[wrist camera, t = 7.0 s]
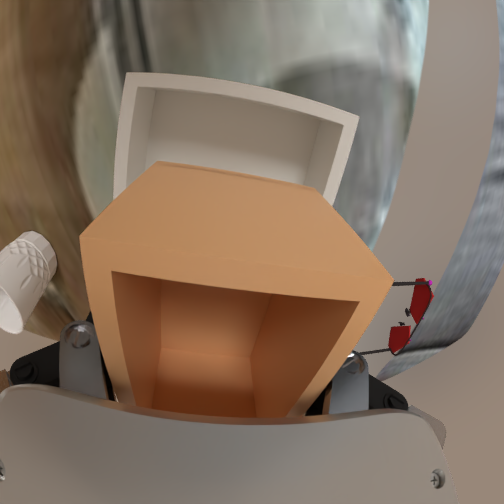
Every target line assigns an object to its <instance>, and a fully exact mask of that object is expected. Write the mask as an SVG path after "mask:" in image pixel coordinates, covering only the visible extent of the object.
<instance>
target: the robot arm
mask: <svg viewBox="0 0 504 504" xmlns="http://www.w3.org/2000/svg"><path fill="white" fill-rule="evenodd" d="M445 437H446V429H445V426H444V424H443V423H442V422H441V421H439V420H438V419H436V418H434V417H432V416H430V415H428V414H427V413H425V412H423V411H421V410H420V409H418V408H416V407H414V406H413V405H411V406H409V407H408V403H407V401H406V399H405V397H404V396H403V395H402V394H400V393H399V392H397V391H396V390H394V389H392V388H391V387H389V386H388V385H386V384H384V383H383V382H381V381H379V380H378V379H376V378H375V377H373V376H371V375H370V374H369V372H368V363H367V361H366V359H365V358H364V357H363V356H362V355H361V354H359V353H358V352H356V351H354V350H352V351H351V353H350V354H349V356H348V357H347V359H346V360H345V362H344V363H343V364H342V366H341V367H340V369H339V370H338V371H337V373H336V374H335V375H334V377H333V378H332V379H331V381H330V382H329V383H328V385H327V386H326V387H325V389H324V390H323V391H322V392H321V394H320V395H319V396H318V397H317V399H316V400H315V401H314V402H313V404H312V405H311V406H310V407H309V408H308V410H307V411H306V412H305V413H304V414H303V415H302V417H283V418H239V417H218V416H205V415H194V414H185V413H177V412H169V411H162V410H156V409H150V408H144V407H139V406H134V405H129V404H124V403H120V402H117V401H116V396H115V391H114V388H113V385H112V383H111V380H110V377H109V374H108V371H107V368H106V365H105V361H104V358H103V355H102V352H101V348H100V345H99V341H98V337H97V333H96V330H95V326H94V321H93V317H92V313H91V311H90V313H89V315H88V317H87V319H86V321H81V320H78V321H73V322H71V323H69V324H67V325H66V326H65V327H64V328H63V330H62V331H61V335H60V341H59V342H57V343H54V344H52V345H50V346H47V347H45V348H42V349H40V350H38V351H35V352H33V353H30V354H28V355H26V356H23V357H21V358H19V359H17V360H16V361H15V362H14V363H13V364H12V366H11V369H10V371H8V372H7V371H6V370H5V369H4V370H2V371H0V504H459V500H458V496H457V493H456V489H455V485H454V482H453V479H452V476H451V473H450V469H449V467H448V463H447V460H446V458H445V455H444V453H443V446H444V441H445Z"/></svg>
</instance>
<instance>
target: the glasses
mask: <svg viewBox="0 0 504 504" xmlns="http://www.w3.org/2000/svg"><path fill="white" fill-rule="evenodd" d="M403 285H415V287H414V292H413V297H412V302H411V306H410V309H409V311H408V309H407V308H406V309H405V312H406V315H407V317H408V316H410V315H409V312H410V313H411V315H412V317H413V318H414V320H415V322H416V324H417V325H416V327H415V329H414V330H413V332H412V334H411V335H410V327H411V326H402V325H405V324H404V323H402V322H399V323H400V326H397V327H391V330H390V337H389V345H388V346H389V348H388V349H382V350H375V351H368V352H360V353H359V354H361V355H365V354H372V353H379V352H384V351H391V353H392V354H393V355H395V356H397V355H399V354H400V353H401V352H402V350H403V349H404V347H405V346H406V345H407V344H409V341H411V339H410V338H411V336H412V335H413V333H414V331H415V330H416V328H417V326H418V325H419V323H420V321H421V319H424V318H423V316H424V314H425V312H426V310H427V309H428V306H429V304H430V302H431V301H432V299H433V297H434V295H433V293H432V291H431V288H430V286H429V285H432V281H431V280H429V281H426V280H425V278H420V279H416V281H415V282H393V284H392V286H403ZM402 347H403V348H402ZM401 348H402V350H401V351H400V352H399V353H398V354H394V352H396V351H398V350H399V349H401Z"/></svg>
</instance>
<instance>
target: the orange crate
mask: <svg viewBox="0 0 504 504" xmlns="http://www.w3.org/2000/svg"><path fill="white" fill-rule="evenodd" d="M79 239H80V248H81V256H82V263H83V270H84V276H85V282H86V288H87V293H88V299H89V303H90V308H91V313H92V317H93V321H94V326H95V330H96V333H97V337H98V341H99V345H100V348H101V352H102V355H103V358H104V361H105V365H106V368H107V371H108V374H109V377H110V380H111V383H112V385H113V388H114V391H115V394H116V396H117V399H118V401H119V402H120V403H124V404H129V405H134V406H139V407H144V408H150V409H156V410H162V411H169V412H177V413H185V414H194V415H205V416H218V417H239V418H283V417H302V415H303V414H304V413H305V412H306V411H307V410H308V408H309V407H310V406H311V405H312V404H313V402H314V401H315V400H316V399H317V397H318V396H319V395H320V394H321V392H322V391H323V390H324V389H325V387H326V386H327V385H328V383H329V382H330V381H331V379H332V378H333V377H334V375H335V374H336V373H337V371H338V370H339V369H340V367H341V366H342V364H343V363H344V362H345V360H346V359H347V357H348V356H349V354H350V353H351V351H352V350H353V348H354V347H355V346H356V344H357V343H358V341H359V339H360V338H361V336H362V335H363V333H364V332H365V330H366V329H367V327H368V325H369V324H370V322H371V321H372V319H373V317H374V316H375V314H376V312H377V311H378V309H379V307H380V305H381V304H382V302H383V300H384V298H385V297H386V295H387V293H388V291H389V290H390V288H391V286H392V284H393V282H394V279H393V278H392V277H391V275H390V274H389V273H388V272H387V270H386V269H385V268H384V267H383V265H382V264H381V263H380V262H379V260H378V259H377V258H376V257H375V255H374V254H373V253H372V252H371V251H370V249H369V248H368V247H367V246H366V245H365V243H364V242H363V241H362V240H361V239H360V237H359V236H358V235H357V234H356V233H355V232H354V230H353V229H352V228H351V227H350V226H349V225H348V224H347V223H346V221H345V220H344V219H343V218H342V217H341V216H340V215H339V214H338V212H337V211H336V210H335V209H334V208H333V207H332V206H331V205H330V204H329V203H328V202H327V201H326V199H325V198H324V197H323V196H322V195H321V194H320V193H319V192H318V191H317V190H316V189H315V188H313V187H308V186H304V185H299V184H295V183H290V182H286V181H281V180H276V179H271V178H266V177H261V176H256V175H251V174H245V173H240V172H234V171H228V170H222V169H216V168H210V167H203V166H196V165H189V164H181V163H174V162H165V161H156V162H155V163H154V164H153V165H152V166H151V167H149V168H148V169H147V170H146V171H145V172H144V173H143V174H141V175H140V176H139V177H138V178H137V179H136V180H135V181H134V182H133V183H131V184H130V185H129V186H128V187H127V188H126V189H125V190H124V191H123V192H122V193H121V194H120V195H119V196H118V197H117V198H116V199H114V200H113V201H112V202H111V203H110V204H109V205H108V206H107V207H106V208H105V209H104V210H103V211H102V212H101V213H100V214H99V216H98V217H97V218H96V219H95V220H94V221H93V222H92V223H91V224H90V225H89V226H88V227H87V228H86V229H85V230H84V231H83V233H82V234H81V235H80V236H79Z"/></svg>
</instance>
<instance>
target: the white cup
mask: <svg viewBox="0 0 504 504" xmlns="http://www.w3.org/2000/svg"><path fill="white" fill-rule="evenodd" d="M56 268H57V259H56V254H55V252H54V250H53V248H52V246H51V244H50V243H49V242H48V241H47V240H46V239H45V238H44V237H43V236H42V235H41V234H39V233H36V232H34V231H29V232H24V233H23V234H22V235H20V236H19V237H18V238H17V239H16V240H15V241H13V242H12V243H10V244H8V245H7V246H6V247H5V248H4V249H3V250H1V251H0V328H1V329H3V330H5V331H6V332H9V333H12V334H19V333H21V332H22V330H23V329H24V327H25V325H26V323H27V321H28V319H29V317H30V315H31V314H32V312H33V310H34V308H35V307H36V305H37V303H38V301H39V300H40V298H41V296H42V294H43V293H44V291H45V289H46V287H47V285H48V283H49V281H50V280H51V278H52V277H53V275H54V274H55V272H56Z"/></svg>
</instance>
